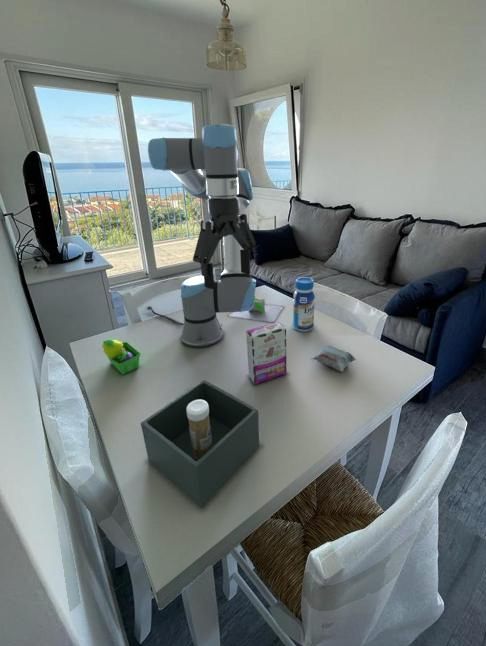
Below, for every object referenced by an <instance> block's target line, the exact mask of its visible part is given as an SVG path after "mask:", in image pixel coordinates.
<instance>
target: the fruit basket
mask: <svg viewBox="0 0 486 646" xmlns="http://www.w3.org/2000/svg"><path fill="white" fill-rule="evenodd" d="M102 349H103V353H104V354H105V356H107V359H108V361H109V362H110V363H111V365H113V366H114V368H116V369H117V371H118V372H120V374H122V375H125V374H126V373H129V372H131V371H133V370H135V369H137V368H139V364H140V357H141V352H139V351H138V349H136V348H134V346H132V345H131V344H130V343H129V342H127V341H123V342H122V341H120V340H116V339H112V338H107V339H106V340H103V341H102Z"/></svg>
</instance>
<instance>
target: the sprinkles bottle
mask: <svg viewBox="0 0 486 646" xmlns="http://www.w3.org/2000/svg"><path fill="white" fill-rule="evenodd" d="M186 411H187V417H188V419H189V429H190V436H191V443H192V447H193V457H194V458H195V459H196V460H199V459H201V458H202V457H203V456H204V455H205V454H206V453H207V452H208V451H209V450H210V449H211V448H213V447H212V437H211V428H210V422H209V406H208V403H207V402H206V401H204V400H194V401H192V402H191V403H189V404H188V406H187V409H186Z"/></svg>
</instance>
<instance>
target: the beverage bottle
mask: <svg viewBox="0 0 486 646" xmlns="http://www.w3.org/2000/svg"><path fill="white" fill-rule="evenodd" d="M314 283H315V282H314V280H313V278H310V277H303V276H302V277H298V278H296V279H295V291H294V293H293V301H292V305H293V308H292V309H293V310H292V312H293V317H292V318H293V320H292V326H293V329H294V330H296V331H299V332H309V331H311V330H313V328H314V325H315V323H314V321H315V307H316V306H315V305H316V301H315V298H316V296H315V292H314V291H313V290H314Z"/></svg>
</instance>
